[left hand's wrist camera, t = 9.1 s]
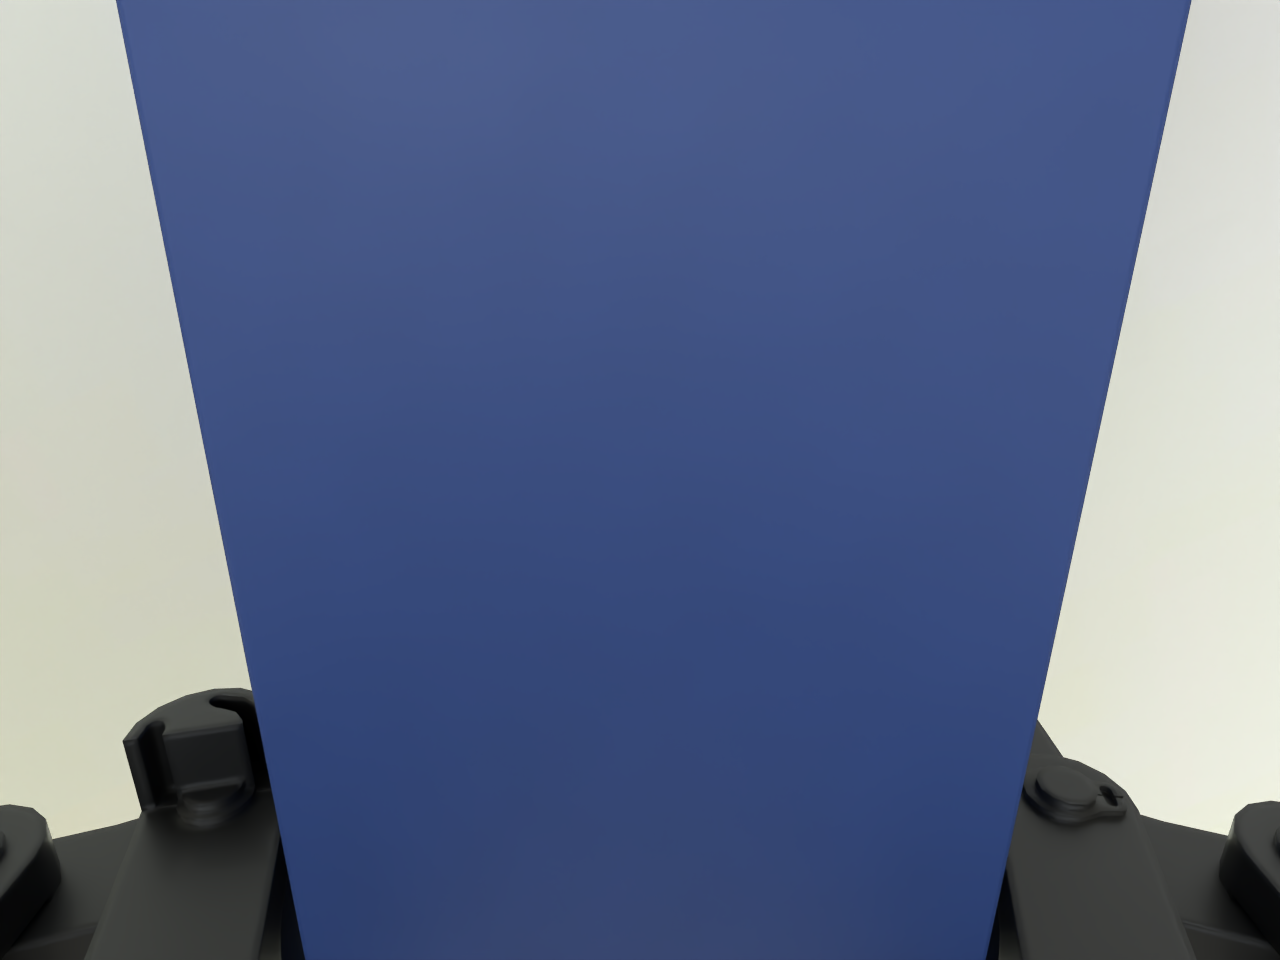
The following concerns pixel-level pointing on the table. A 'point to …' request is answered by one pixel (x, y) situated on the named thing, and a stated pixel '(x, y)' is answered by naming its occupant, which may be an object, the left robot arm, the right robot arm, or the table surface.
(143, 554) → the table surface
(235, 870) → the left robot arm
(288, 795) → the bar
